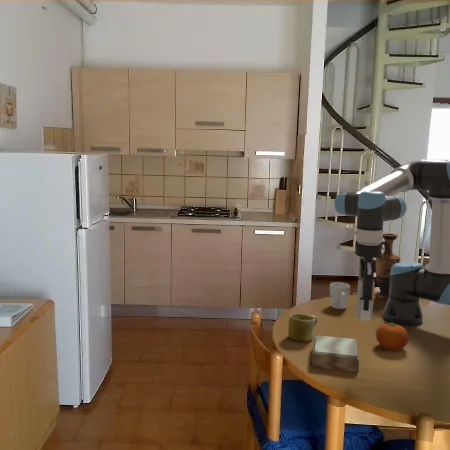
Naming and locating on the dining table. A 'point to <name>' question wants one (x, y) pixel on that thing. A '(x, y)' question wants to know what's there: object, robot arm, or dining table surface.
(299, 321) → the mug
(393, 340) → the fruit
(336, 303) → the mug
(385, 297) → the vase
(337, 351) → the podium
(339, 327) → the dining table surface
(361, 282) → the beverage can
